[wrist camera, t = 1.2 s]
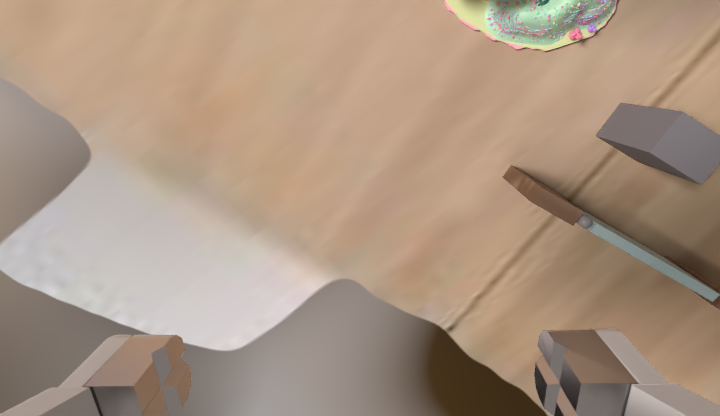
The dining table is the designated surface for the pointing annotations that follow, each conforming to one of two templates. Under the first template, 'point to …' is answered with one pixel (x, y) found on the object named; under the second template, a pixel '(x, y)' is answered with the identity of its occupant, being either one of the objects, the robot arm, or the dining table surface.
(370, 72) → the dining table surface
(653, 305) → the dining table surface
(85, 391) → the robot arm
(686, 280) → the door
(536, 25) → the candy landscape model
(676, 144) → the block
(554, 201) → the wooden blocks
